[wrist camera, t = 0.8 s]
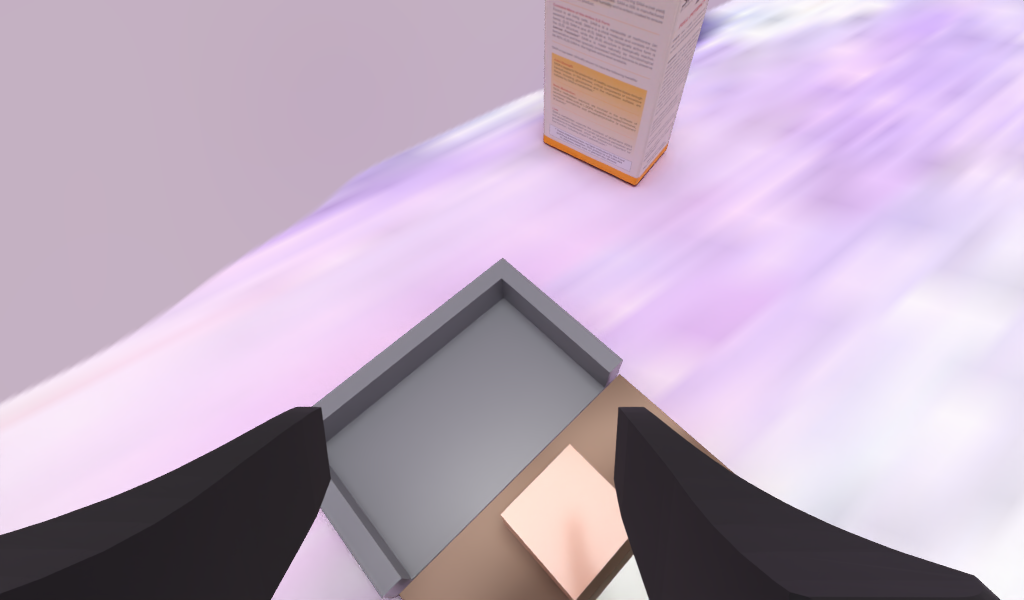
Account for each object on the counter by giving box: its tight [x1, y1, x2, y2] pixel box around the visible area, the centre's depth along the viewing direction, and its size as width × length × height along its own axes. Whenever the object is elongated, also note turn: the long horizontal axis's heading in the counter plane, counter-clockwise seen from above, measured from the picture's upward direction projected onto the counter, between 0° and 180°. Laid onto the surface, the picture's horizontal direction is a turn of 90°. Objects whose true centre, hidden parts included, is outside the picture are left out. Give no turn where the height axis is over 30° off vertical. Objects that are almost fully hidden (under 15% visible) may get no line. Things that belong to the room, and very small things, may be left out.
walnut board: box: [399, 374, 733, 600], centre depth 21 cm, size 10×14×2 cm
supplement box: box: [544, 0, 709, 185], centre depth 31 cm, size 8×5×13 cm, turn 52°
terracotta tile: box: [501, 444, 628, 600], centre depth 20 cm, size 4×4×2 cm
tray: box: [312, 258, 623, 598], centre depth 25 cm, size 9×15×2 cm, turn 133°
